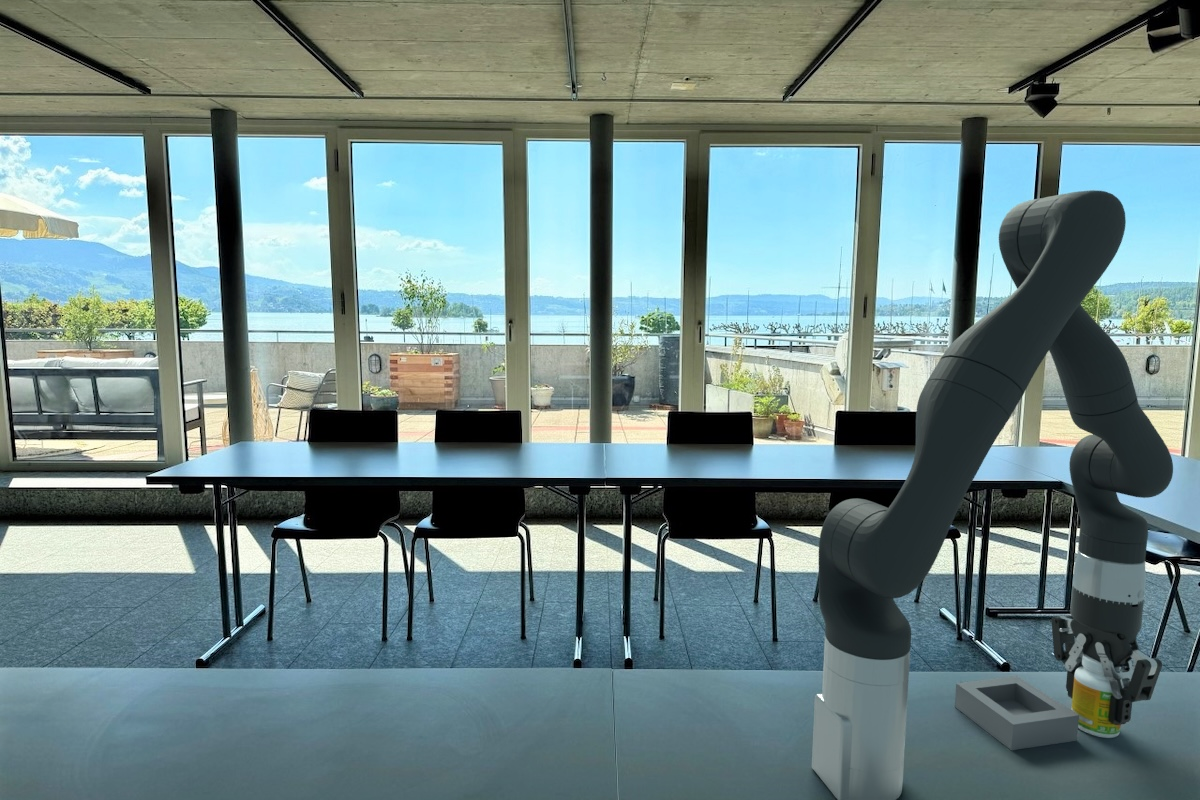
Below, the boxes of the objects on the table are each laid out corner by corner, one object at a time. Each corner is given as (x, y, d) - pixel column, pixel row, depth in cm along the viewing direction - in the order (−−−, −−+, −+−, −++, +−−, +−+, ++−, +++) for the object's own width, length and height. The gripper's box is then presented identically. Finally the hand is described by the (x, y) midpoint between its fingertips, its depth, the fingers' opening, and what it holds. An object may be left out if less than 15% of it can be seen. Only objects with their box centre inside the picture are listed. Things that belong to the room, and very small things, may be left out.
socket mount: (1011, 750, 86) (1013, 724, 85) (954, 706, 96) (956, 683, 95) (1076, 740, 88) (1079, 715, 87) (1014, 698, 98) (1016, 675, 97)
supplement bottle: (1098, 742, 88) (1105, 671, 86) (1060, 718, 93) (1066, 651, 92) (1130, 735, 89) (1137, 665, 88) (1090, 712, 94) (1097, 646, 93)
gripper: (1037, 570, 95) (1028, 685, 97) (1138, 614, 81) (1125, 746, 83) (1082, 567, 96) (1072, 679, 98) (1188, 608, 82) (1174, 738, 84)
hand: (1096, 709), depth 91 cm, fingers closed on supplement bottle, 5 cm apart
